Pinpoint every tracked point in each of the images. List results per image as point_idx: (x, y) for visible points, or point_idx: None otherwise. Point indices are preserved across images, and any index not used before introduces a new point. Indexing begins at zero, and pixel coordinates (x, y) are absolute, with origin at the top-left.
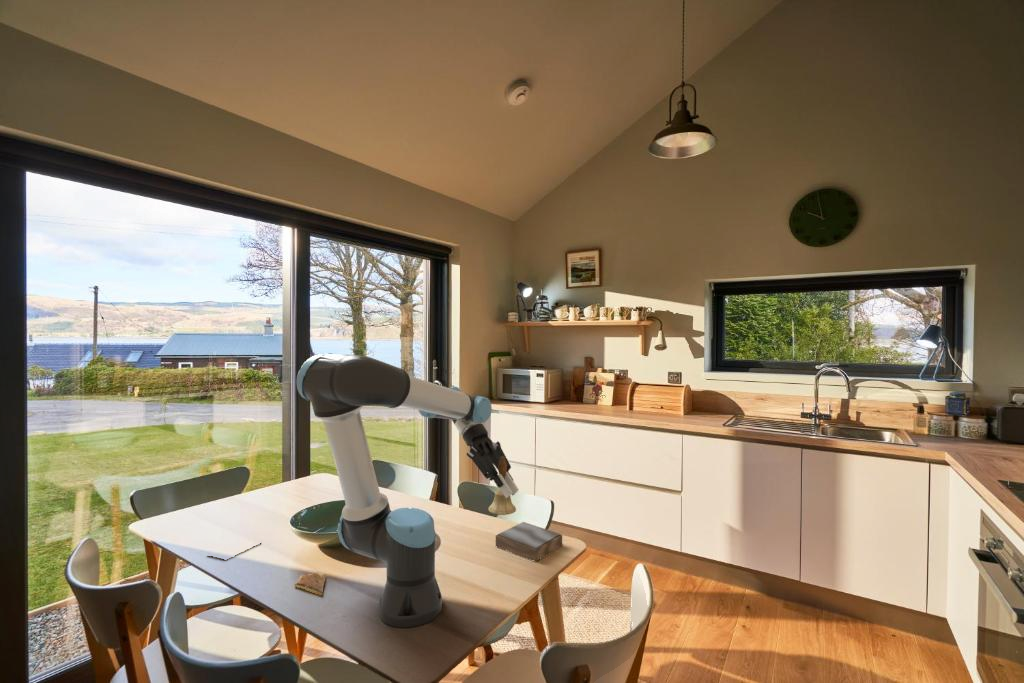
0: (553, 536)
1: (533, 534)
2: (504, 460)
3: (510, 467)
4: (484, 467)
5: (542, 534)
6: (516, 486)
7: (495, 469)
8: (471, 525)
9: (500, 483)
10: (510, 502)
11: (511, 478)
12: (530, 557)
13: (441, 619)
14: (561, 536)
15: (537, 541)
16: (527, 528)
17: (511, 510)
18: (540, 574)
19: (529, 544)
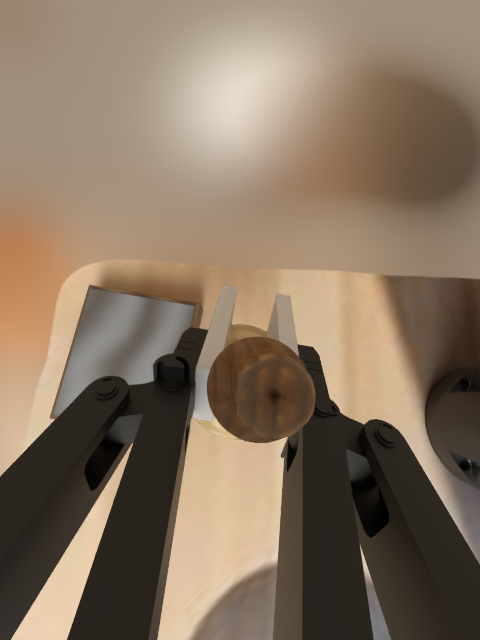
0: (113, 296)
1: (124, 346)
2: (274, 349)
3: (113, 377)
4: (451, 539)
5: (114, 325)
6: (221, 295)
7: (310, 438)
8: (83, 587)
9: (312, 355)
10: (235, 339)
11: (211, 326)
12: (199, 323)
13: (464, 356)
14: (94, 286)
15: (159, 317)
16: (94, 379)
17: (249, 329)
18: (242, 280)
19: (184, 327)
